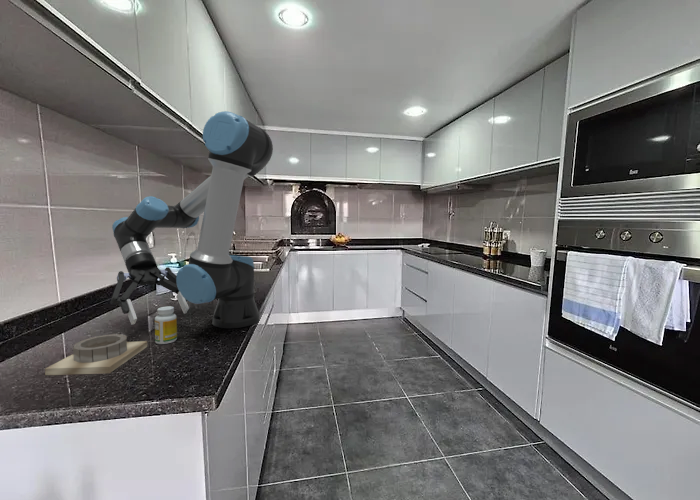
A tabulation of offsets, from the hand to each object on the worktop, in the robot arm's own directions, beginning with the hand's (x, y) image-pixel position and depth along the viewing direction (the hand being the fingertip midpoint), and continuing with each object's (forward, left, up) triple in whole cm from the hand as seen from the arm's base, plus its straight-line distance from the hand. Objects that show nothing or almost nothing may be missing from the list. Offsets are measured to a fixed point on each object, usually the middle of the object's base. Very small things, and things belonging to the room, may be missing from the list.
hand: (162, 316), depth 86 cm
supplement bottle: (-1, +1, -7) cm, 7 cm away
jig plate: (+8, +12, -7) cm, 16 cm away
